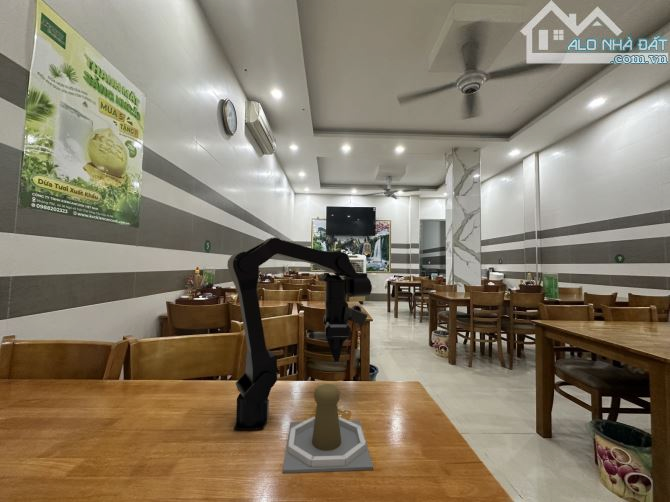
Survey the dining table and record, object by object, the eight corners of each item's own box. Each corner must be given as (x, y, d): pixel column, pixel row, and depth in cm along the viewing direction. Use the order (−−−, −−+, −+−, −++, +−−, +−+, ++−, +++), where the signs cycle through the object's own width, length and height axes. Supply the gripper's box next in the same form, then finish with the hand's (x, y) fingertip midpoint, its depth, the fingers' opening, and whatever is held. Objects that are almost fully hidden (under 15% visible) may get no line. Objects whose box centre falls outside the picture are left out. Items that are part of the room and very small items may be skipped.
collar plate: (282, 473, 51) (282, 463, 51) (290, 424, 67) (290, 416, 67) (373, 469, 52) (373, 459, 52) (359, 422, 68) (359, 414, 68)
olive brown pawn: (338, 452, 56) (338, 393, 57) (308, 448, 57) (308, 390, 58) (343, 435, 62) (344, 381, 63) (316, 431, 63) (316, 379, 64)
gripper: (371, 301, 72) (371, 367, 71) (359, 294, 90) (359, 346, 89) (325, 301, 71) (325, 367, 70) (323, 294, 89) (323, 346, 89)
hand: (335, 355), depth 79 cm, fingers open, 9 cm apart
